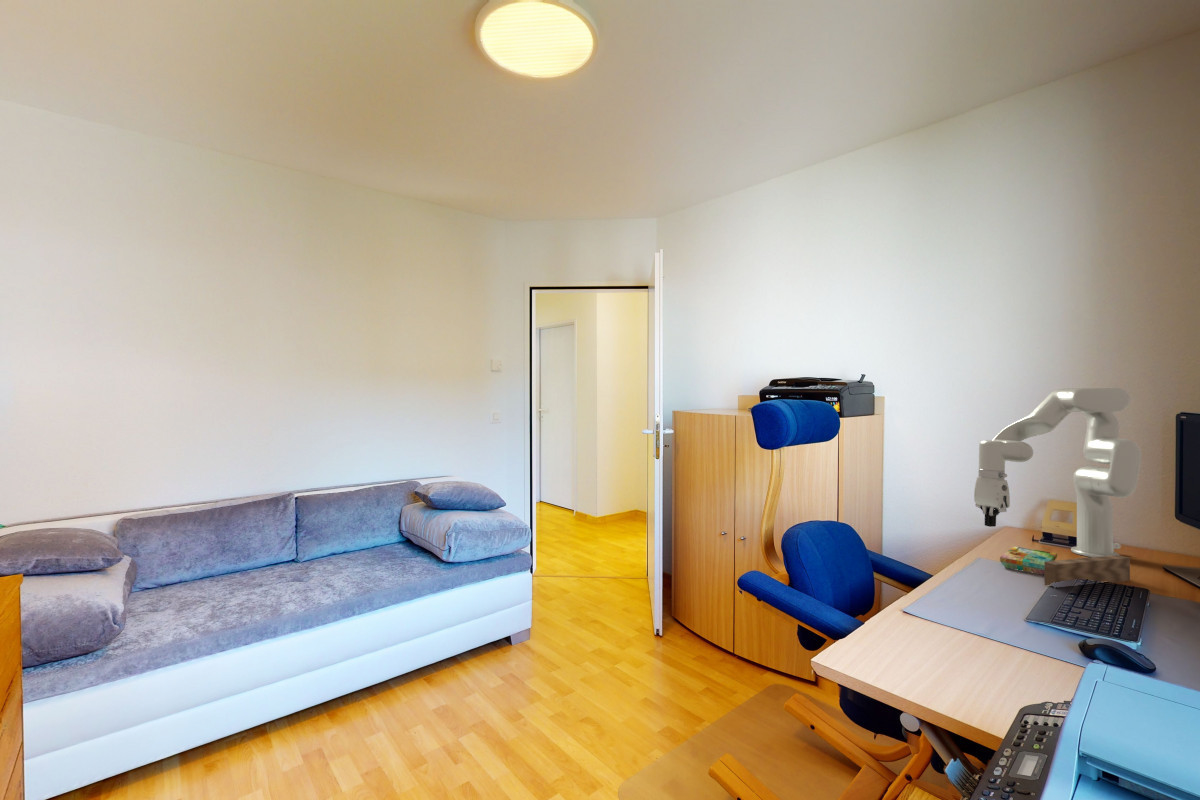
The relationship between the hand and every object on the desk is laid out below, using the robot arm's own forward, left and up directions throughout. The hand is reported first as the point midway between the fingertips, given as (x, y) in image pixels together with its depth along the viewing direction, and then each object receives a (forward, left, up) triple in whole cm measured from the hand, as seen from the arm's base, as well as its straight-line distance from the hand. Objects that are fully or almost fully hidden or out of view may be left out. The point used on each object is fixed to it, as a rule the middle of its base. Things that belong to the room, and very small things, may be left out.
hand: (990, 525), depth 188 cm
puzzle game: (-1, +13, -11) cm, 17 cm away
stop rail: (-1, +30, -10) cm, 32 cm away
